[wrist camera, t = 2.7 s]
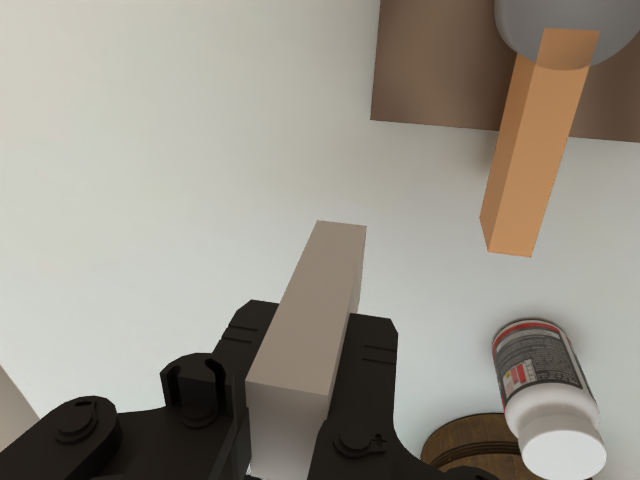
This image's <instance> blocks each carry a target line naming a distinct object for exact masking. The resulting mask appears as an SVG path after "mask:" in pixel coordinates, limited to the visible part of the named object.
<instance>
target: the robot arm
mask: <svg viewBox="0 0 640 480" xmlns="http://www.w3.org/2000/svg"><path fill="white" fill-rule="evenodd" d="M366 227H367V226H362V225H354V224H345V223H337V222H328V221H320V220H317V222H316V224H315V227H314V229H313V231H312V233H311V235H310V238H309V240H308V242H307V244H306V247H305V249H304V251H303V253H302V255H301V258H300V260H299V262H298V264H297V266H296V269H295V271H294V273H293V275H292V277H291V280H290V282H289V284H288V286H287V289H286V291H285V293H284V295H283V297H282V300H281V302H280V304H278V303H272V302H265V301H258V300H250V301H249V302H248V303H246V304H245V305H244V306H242V307H241V308H240V309H238V310H237V311H236V313H235V314H234V316H233V318H232V320H231V321H230V323H229V325H228V328H226V330H225V332H224V333H223V335H222V338H221V340H219V342H218V344H217V345H216V347H215V349H214V351H213V352H212V354H211V353H193V354H189V355H185V356H182V357H180V358H178V359H176V360H174V361H172V362H171V363H169V364H168V365H167V366H166V367H165V368H164V369H163V370H162V371H161V372H160V378H161V383H162V388H163V393H164V399H165V404H166V406H164V407H161V408H157V409H152V410H145V411H135V412H125V413H117V411H116V408H115V405H114V404H113V403H112V402H111V401H109V400H108V399H107V398H103V397H99V396H84V397H78V398H76V399H73V400H70V401H67V402H65V403H63V404H61V405H60V406H58V407H57V408H55V409H54V410H52V411H50V412H49V413H48V414H47V415H46V416H44V417H43V418H42V419H41V420H40V421H38V422H37V423H36V424H35V425H33V427H31V428H30V429H29V430H27V431H26V432H25V433H24V434H22V435H21V436H20V437H19V438H18V439H16V440H15V441H14V442H13V443H11V444H10V445H9V446H8V447H7V448H5V449H4V450H3V451H2V452H0V480H244V477H245V474H246V471H247V469H248V466H249V463H250V468H251V476H254V477H258V478H263V479H268V480H500V479H499V478H498V477H496V476H495V475H493V474H491V473H489V472H487V471H485V470H483V469H481V468H477V467H471V466H464V465H463V466H459V467H454V468H450V469H448V470H447V471H446V472H445V473H444V472H442V471H440V470H438V469H436V468H434V467H432V466H430V465H428V464H426V463H424V462H423V461H421V460H419V459H418V458H416V457H415V456H413V455H412V454H411V453H410V452H409V451H408V450H407V449H406V448H405V447H404V446H403V445H402V443H401V442H400V440H399V439H398V437H397V435H396V432H395V429H394V424H393V411H394V395H395V379H396V362H397V346H398V333H397V331H396V329H395V327H394V325H393V323H392V321H391V319H389V318H382V317H375V316H368V315H362V314H357V310H358V305H359V300H360V290H361V279H362V269H363V258H364V248H365V238H366Z"/></svg>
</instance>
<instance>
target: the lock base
mask: <svg viewBox="0 0 640 480" xmlns="http://www.w3.org/2000/svg"><path fill="white" fill-rule="evenodd" d="M494 3H495V0H381V5H380V16H379V27H378V39H377V50H376V61H375V72H374V84H373V95H372V106H371V117H370V120H377V121H388V122H400V123H412V124H424V125H436V126H448V127H460V128H471V129H483V130H495V131H499V130H500V126H501V122H502V117H503V113H504V109H505V104H506V100H507V96H508V91H509V87H510V83H511V78H512V74H513V70H514V65H515V61H516V57H517V52H515V51H514V50H512V49H511V48H510V47H509V46H508V45H507V44H506V43H505V42H504V40H503V39H502V37H501V36H500V34H499V32H498V29H497V26H496V22H495V16H494ZM568 137H578V138H590V139H602V140H614V141H626V142H638V143H640V30H639V32H638V33H637V34H636V35H635V36H634V38H633V39H632V40H631V41H630V42H629V43H628V44H627V45H626V46H625V47H623V48H622V49H621V50H620V51H618V52H617V53H616V54H614V55H613V56H611V57H610V58H608V59H606V60H604V61H602V62H600V63H598V64H596V65H593V66H590V67H589V70H588V73H587V76H586V80H585V83H584V86H583V89H582V93H581V96H580V99H579V103H578V106H577V109H576V112H575V116H574V119H573V122H572V125H571V129H570V132H569V135H568Z"/></svg>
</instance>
